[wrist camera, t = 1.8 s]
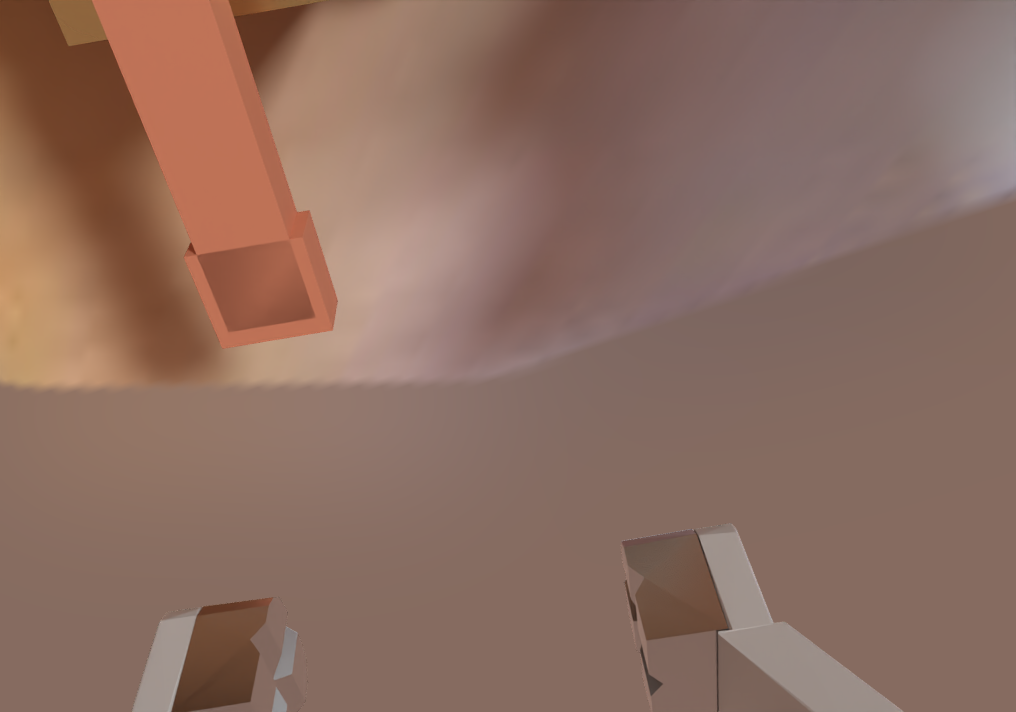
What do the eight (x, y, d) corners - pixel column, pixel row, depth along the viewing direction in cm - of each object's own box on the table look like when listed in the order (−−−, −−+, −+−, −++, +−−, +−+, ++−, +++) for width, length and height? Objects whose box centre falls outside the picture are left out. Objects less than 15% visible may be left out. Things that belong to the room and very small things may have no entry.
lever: (170, -263, 18) (150, -264, 16) (344, 299, 26) (339, 329, 24) (0, -232, 18) (-33, -229, 17) (226, 319, 26) (215, 350, 25)
